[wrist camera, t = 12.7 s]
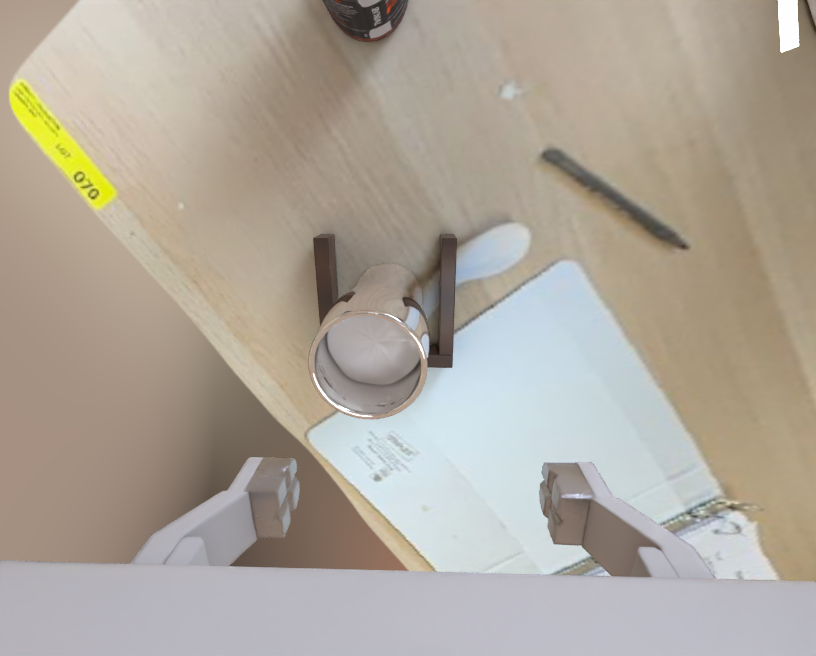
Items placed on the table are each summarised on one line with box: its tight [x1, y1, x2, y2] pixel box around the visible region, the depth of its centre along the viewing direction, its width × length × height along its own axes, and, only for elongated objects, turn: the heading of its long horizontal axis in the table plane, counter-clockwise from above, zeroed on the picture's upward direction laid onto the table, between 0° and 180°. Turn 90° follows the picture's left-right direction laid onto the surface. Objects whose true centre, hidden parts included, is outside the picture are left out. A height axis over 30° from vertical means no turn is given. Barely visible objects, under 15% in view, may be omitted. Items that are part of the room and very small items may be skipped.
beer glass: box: [308, 263, 430, 419], centre depth 29 cm, size 7×7×15 cm
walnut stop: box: [313, 234, 457, 368], centre depth 35 cm, size 11×11×2 cm
